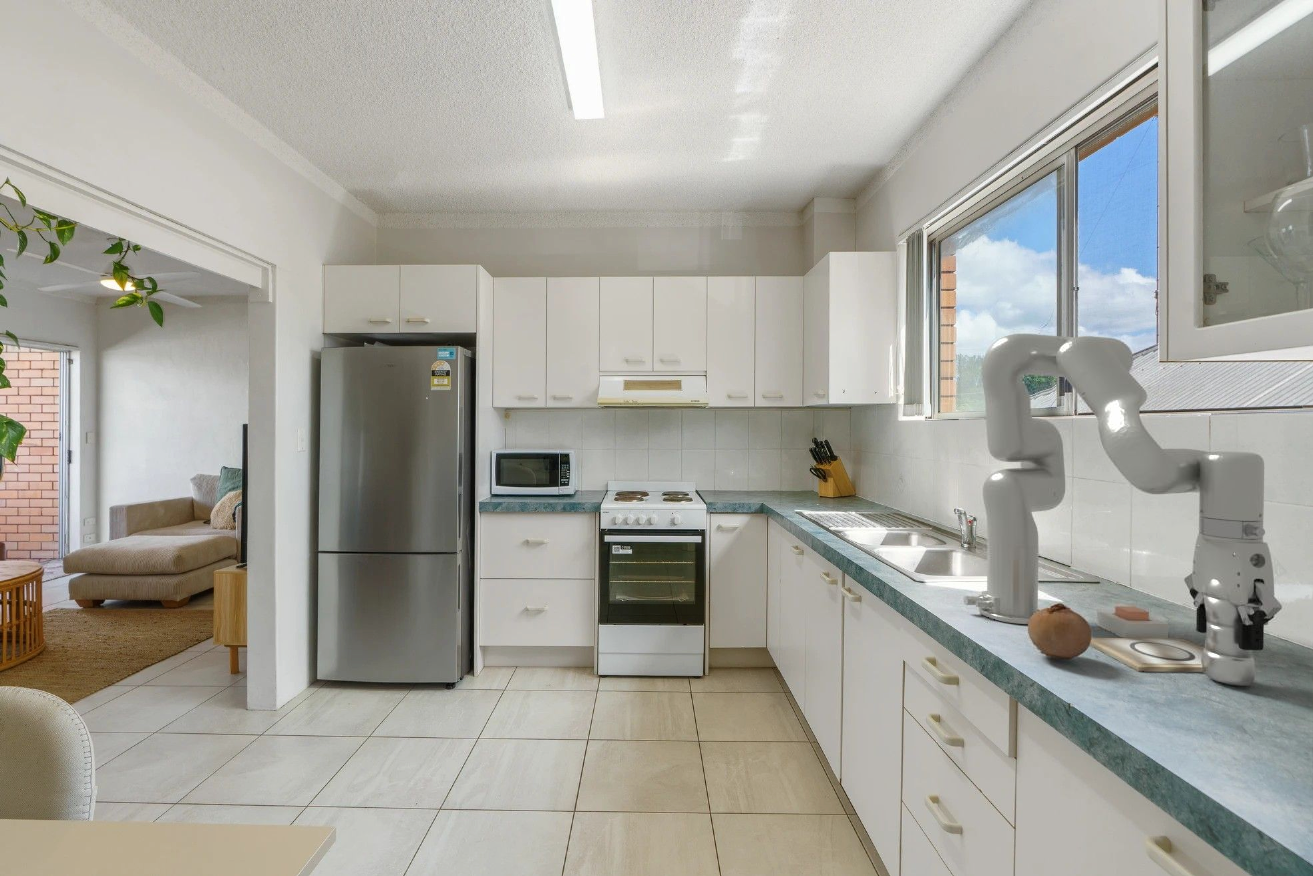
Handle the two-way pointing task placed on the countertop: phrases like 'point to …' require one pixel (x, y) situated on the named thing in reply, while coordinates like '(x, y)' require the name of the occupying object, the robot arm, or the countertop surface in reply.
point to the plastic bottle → (1224, 639)
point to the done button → (1131, 613)
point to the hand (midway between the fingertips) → (1228, 639)
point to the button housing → (1132, 626)
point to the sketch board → (1153, 653)
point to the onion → (1059, 632)
